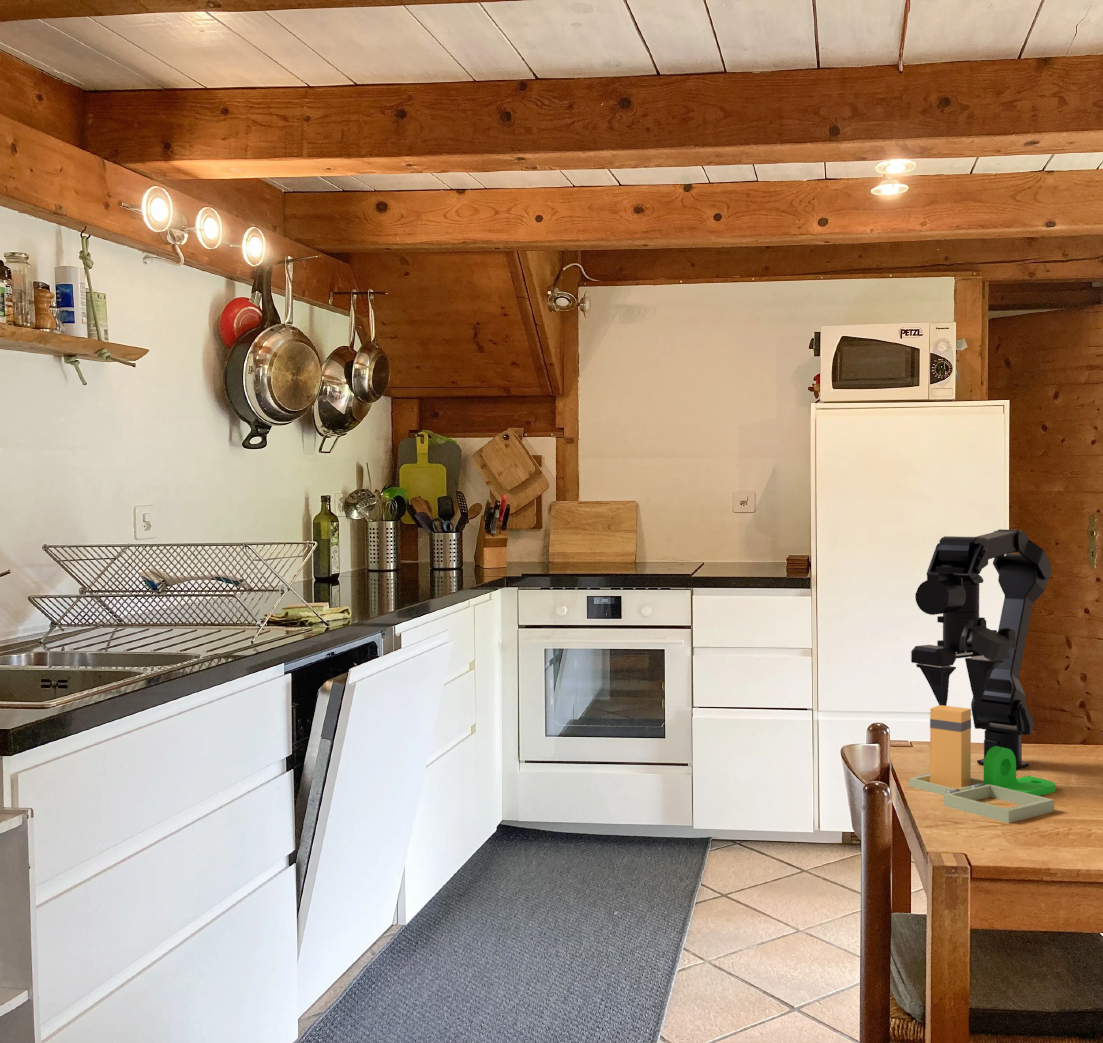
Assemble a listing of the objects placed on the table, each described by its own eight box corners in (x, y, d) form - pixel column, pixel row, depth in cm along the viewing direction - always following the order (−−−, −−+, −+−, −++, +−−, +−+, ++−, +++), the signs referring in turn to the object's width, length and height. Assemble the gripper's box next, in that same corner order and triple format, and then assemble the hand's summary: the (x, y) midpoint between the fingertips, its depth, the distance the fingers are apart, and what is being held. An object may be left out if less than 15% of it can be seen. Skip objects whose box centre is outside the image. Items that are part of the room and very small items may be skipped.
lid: (944, 783, 180) (944, 771, 180) (992, 795, 173) (992, 782, 172) (908, 790, 175) (908, 778, 175) (956, 803, 168) (956, 790, 168)
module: (939, 784, 177) (940, 705, 177) (970, 789, 174) (971, 708, 174) (929, 788, 174) (930, 708, 174) (961, 794, 171) (961, 712, 170)
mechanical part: (1017, 807, 166) (1018, 755, 166) (983, 798, 171) (983, 748, 171) (1063, 796, 173) (1063, 746, 173) (1028, 787, 178) (1029, 739, 178)
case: (985, 799, 170) (985, 781, 170) (1053, 816, 160) (1053, 798, 160) (940, 809, 164) (940, 791, 164) (1008, 828, 154) (1008, 809, 154)
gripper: (967, 618, 169) (966, 717, 170) (1038, 612, 179) (1037, 705, 180) (909, 612, 179) (908, 706, 179) (979, 607, 189) (979, 696, 189)
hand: (960, 703), depth 181 cm, fingers open, 9 cm apart
